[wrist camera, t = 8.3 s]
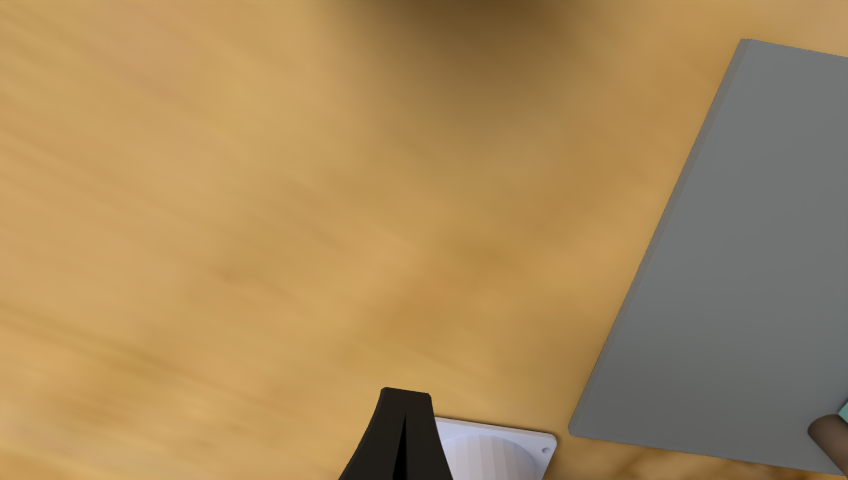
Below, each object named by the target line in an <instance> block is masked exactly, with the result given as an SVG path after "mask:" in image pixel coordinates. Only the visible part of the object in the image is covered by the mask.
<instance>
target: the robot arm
mask: <svg viewBox="0 0 848 480" xmlns="http://www.w3.org/2000/svg"><path fill="white" fill-rule="evenodd" d="M556 446H557V441H556V438H555V436H554V435H552V434H548V433H541V432H534V431H527V430H521V429H514V428H507V427H500V426H494V425H487V424H480V423H473V422H467V421H460V420H453V419H446V418H440V417H434V412H433V407H432V400H431V396H430V395H429V394H428V393H422V392H416V391H409V390H402V389H396V388H389V387H385V388H383V389H381V393H380V397H379V400H378V403H377V406H376V409H375V411H374V414H373V416H372V418H371V421H370V423H369V425H368V427H367V429H366V431H365V433H364V435H363V437H362V439H361V441H360V443H359V445H358V447H357V449H356V451H355V452H354V454H353V456H352V458H351V459H350V461H349V463H348V464H347V466H346V468H345V469H344V471H343V473H342V474H341V476H340V478H339V479H338V480H542V478H543V475H544V473H545V471H546V469H547V466H548V464H549V462H550V460H551V457H552V455H553V453H554V451H555V448H556ZM545 447H546V448H545Z"/></svg>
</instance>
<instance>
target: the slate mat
mask: <svg viewBox="0 0 848 480" xmlns="http://www.w3.org/2000/svg"><path fill="white" fill-rule="evenodd" d="M847 402H848V58H847V57H841V56H836V55H831V54H826V53H820V52H815V51H810V50H805V49H799V48H794V47H789V46H784V45H778V44H773V43H768V42H763V41H757V40H752V39H741V41H740V43H739V45H738V47H737V50H736V52H735V54H734V56H733V58H732V61H731V63H730V65H729V67H728V70H727V72H726V74H725V76H724V79H723V81H722V83H721V85H720V88H719V90H718V92H717V94H716V97H715V99H714V101H713V103H712V105H711V108H710V110H709V112H708V114H707V117H706V119H705V121H704V123H703V126H702V128H701V130H700V132H699V135H698V137H697V139H696V141H695V144H694V146H693V148H692V150H691V152H690V155H689V157H688V159H687V161H686V164H685V166H684V168H683V170H682V173H681V175H680V177H679V179H678V182H677V184H676V186H675V188H674V191H673V193H672V195H671V197H670V199H669V202H668V204H667V206H666V208H665V211H664V213H663V215H662V217H661V220H660V222H659V224H658V226H657V229H656V231H655V233H654V235H653V238H652V240H651V242H650V244H649V247H648V249H647V251H646V253H645V255H644V258H643V260H642V262H641V264H640V267H639V269H638V271H637V273H636V276H635V278H634V280H633V282H632V285H631V287H630V289H629V291H628V294H627V296H626V298H625V300H624V302H623V305H622V307H621V309H620V311H619V314H618V316H617V318H616V320H615V323H614V325H613V327H612V329H611V332H610V334H609V336H608V338H607V341H606V343H605V345H604V347H603V349H602V352H601V354H600V356H599V358H598V361H597V363H596V365H595V367H594V370H593V372H592V374H591V376H590V379H589V381H588V383H587V385H586V388H585V390H584V392H583V394H582V396H581V399H580V401H579V403H578V405H577V408H576V410H575V412H574V414H573V417H572V419H571V421H570V423H569V426H568V429H569V432H570V435H571V436H577V437H584V438H591V439H597V440H604V441H611V442H618V443H625V444H631V445H638V446H645V447H652V448H658V449H665V450H672V451H679V452H685V453H692V454H699V455H706V456H712V457H719V458H726V459H733V460H739V461H746V462H753V463H760V464H766V465H773V466H780V467H787V468H793V469H800V470H807V471H814V472H820V473H827V474H834V475H841V476H845V475H844V474H843V473H842V471H841V470H840V469H839V468H838V467H837V466H836V465H835V464H834V463H833V462H832V460H831V459H830V458H829V457H828V456H827V455H826V454H825V453H824V452H823V451H822V449H821V448H820V447H819V446H818V445H817V444H816V443H815V442H814V441H813V440H812V438H811V437H810V436H809V435H808V433H807V430H808V427H809V425H810V424H811V423H812V422H813V421H815V420H816V419H818V418H820V417H822V416H825V415H830V414H838V413H839V412H840V411H841V409H842V408H843V407H844V406H845V405H846V404H847ZM838 415H839V414H838Z"/></svg>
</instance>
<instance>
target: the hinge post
mask: <svg viewBox="0 0 848 480" xmlns="http://www.w3.org/2000/svg"><path fill="white" fill-rule="evenodd" d="M807 433H808V435H809V436H810V437H811V438H812V440H813V441H814V442H815V443H816V444H817V445H818V446H819V447H820V448H821V449H822V451H823V452H824V453H825V454H826V455H827V456H828V457H829V458H830V459H831V460H832V462H833V463H834V464H835V465H836V466H837V467H838V468H839V469H840V470H841V471H842V473H843V474H844V475H845V476H846V477H847V478H848V423H847V422H846V421H845V420H844V419H843V418H842V417H841V416H840V415H838V414H830V415H825V416H822V417H820V418H818V419H816V420H815V421H813V422H812V423H811V424H810V425H809V427H808V430H807Z"/></svg>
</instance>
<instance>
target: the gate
mask: <svg viewBox="0 0 848 480" xmlns="http://www.w3.org/2000/svg"><path fill="white" fill-rule="evenodd" d="M838 414H839V415H840V416H841V417H842V418H843V419H844V420H845V421H846V422H847V423H848V402H847V404H846V405H845V406H844V407H843V408H842V409H841V411H840V412H839V413H838Z"/></svg>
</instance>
